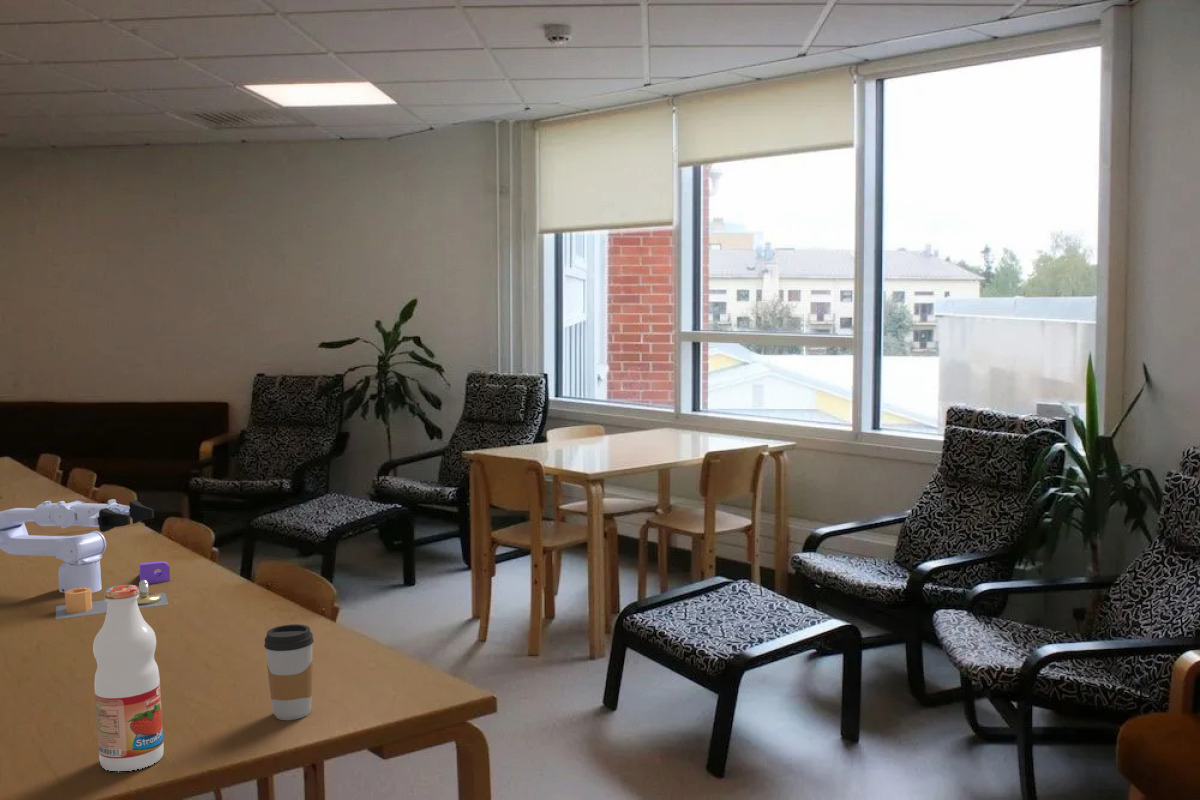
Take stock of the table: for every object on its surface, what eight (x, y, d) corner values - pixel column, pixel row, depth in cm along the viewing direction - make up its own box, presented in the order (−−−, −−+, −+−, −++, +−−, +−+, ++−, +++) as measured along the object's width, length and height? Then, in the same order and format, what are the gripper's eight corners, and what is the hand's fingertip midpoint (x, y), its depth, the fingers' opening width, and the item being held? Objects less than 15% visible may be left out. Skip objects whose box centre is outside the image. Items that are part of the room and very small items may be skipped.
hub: (121, 604, 255) (120, 582, 254) (143, 595, 261) (142, 575, 261) (145, 606, 252) (144, 584, 252) (167, 598, 259) (166, 577, 259)
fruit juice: (113, 749, 174) (102, 581, 172) (172, 747, 175) (162, 579, 172) (89, 775, 165) (77, 597, 162) (152, 772, 165) (140, 595, 163)
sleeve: (61, 611, 249) (59, 593, 249) (79, 605, 254) (78, 586, 254) (79, 613, 247) (77, 594, 247) (97, 607, 252) (96, 588, 252)
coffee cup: (273, 706, 192) (269, 624, 190) (320, 703, 193) (317, 622, 191) (262, 724, 184) (258, 639, 182) (312, 721, 184) (308, 636, 183)
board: (55, 625, 243) (54, 604, 243) (56, 612, 254) (55, 591, 254) (168, 610, 254) (167, 589, 253) (165, 598, 264) (164, 578, 264)
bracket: (170, 588, 275) (169, 562, 275) (141, 591, 272) (140, 565, 272) (167, 577, 286) (166, 552, 286) (139, 580, 283) (138, 555, 283)
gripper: (72, 505, 257) (116, 506, 252) (119, 493, 270) (161, 495, 265) (75, 533, 258) (119, 535, 253) (122, 521, 271) (164, 523, 266)
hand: (141, 516), depth 259 cm, fingers open, 7 cm apart
